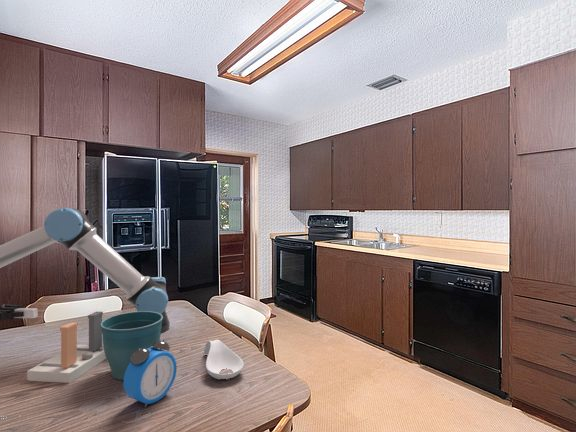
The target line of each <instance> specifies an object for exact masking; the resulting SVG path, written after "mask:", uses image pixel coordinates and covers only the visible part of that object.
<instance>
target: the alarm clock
mask: <svg viewBox="0 0 576 432" xmlns="http://www.w3.org/2000/svg"><path fill="white" fill-rule="evenodd" d="M152 347H155V348H152ZM156 348H158V349H156ZM170 350H171V346H170V344H169V342H167V341H165V339H163V340H162V339H160V340H159V341H156V342H155V343H154V344H153V345H152V346H151V347H149V348H139V349H137V350H135V351H134V352H133V354H132V355H131V358H130V361H131V362H130V363H129V365H128V367H127V369H126V372H125V375H124V380H122V381H123V390H124V392H125V394H126V395H127V396H128V397H129V398H131V399H133V400H134V401H138V402H141V403H143V404H145V405H144V408H145V407H146V408H147V406H148V405H149V404H154V403H157V402H158V401H160V400H161V399H162V398H164V397H165V396H167V395H168V392H169V391H170V389H171V388H172V386H173V383H174V382H175V379H176V375H177V361H176V358H175V357H174V355H173V354H172V353H171V352H169V351H170ZM166 394H167V395H166Z"/></svg>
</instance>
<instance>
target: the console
mask: <svg viewBox="0 0 576 432" xmlns="http://www.w3.org/2000/svg"><path fill="white" fill-rule="evenodd" d="M105 360H107V358H106V355H105V352H104V346H103V345H102V347H101V348H99V349H97V350H96V351H89V344H77V362H76V363H74V364H72V365H71V366H69V367H68V368H62V367H61V352H59V353H58V354H56V355H54V356H52V357H50V358H48V359H46V360H44V361H43V362H40V363H39V364H37V365H35V366H34V367H32V368H30V369H28V370H27V371H26V373H27V374H26V381H27V382H28V381H30V382H44V383H45V382H48V383H65V384H68V383H69V384H71V383H72V382H75V380H77V379H79V377H81V376H82V375H84V374H85V373H87V372H88V371H90V370H91V369H93V368H94V367H95V366H98V365H99V364H100V363H103V362H104V361H105Z"/></svg>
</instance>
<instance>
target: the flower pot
mask: <svg viewBox="0 0 576 432" xmlns="http://www.w3.org/2000/svg"><path fill="white" fill-rule="evenodd" d="M162 320H163V316H162V315H161V314H160V313H157V312H150V311H138V312H137V311H130V312H124V313H120V314H119V313H118V314H115V315H112V316H109V317H108V318H106V319H104V320H102V323H101V327H102V346H104V352H105V355H106V361H107V363H108V364H109V367H110V373H111V377H112V378H113V379H116V380H120V381H121V380H122V381H124V375H125V372H126V369H127V367H128V365H129V363H130V362H131V361H130V358H131V355H132V354H133V352H134V351H135V350H137V349H139V348H149V347H151V346H152V345H153V344H154V343H155V342H156V341H159V340H161V335H162V333H161V327H162ZM152 348H155V347H152ZM156 349H159V348H156Z"/></svg>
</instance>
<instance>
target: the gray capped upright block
mask: <svg viewBox="0 0 576 432" xmlns="http://www.w3.org/2000/svg"><path fill="white" fill-rule="evenodd" d="M103 314H104V311H95V312H92V313H89V314H88V315H87V319H88V345H89V351H96V350H97V349H99V348H101V347H102V346H103V335H102V327H101V323H102V322H103Z"/></svg>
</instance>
